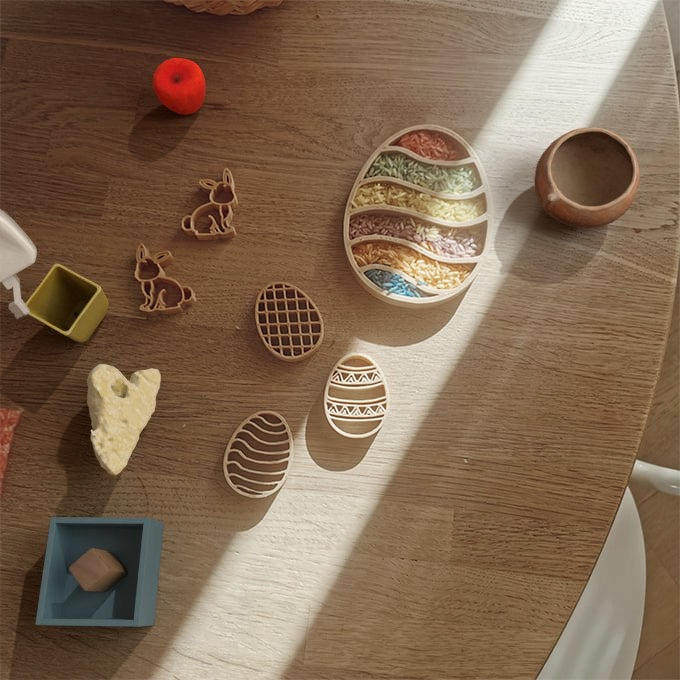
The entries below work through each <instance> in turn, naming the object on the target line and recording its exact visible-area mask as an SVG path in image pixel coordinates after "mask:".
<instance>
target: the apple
mask: <svg viewBox="0 0 680 680" xmlns="http://www.w3.org/2000/svg"><path fill="white" fill-rule="evenodd" d="M206 85H207V84H206V79H205V76H204V72H203V70H202V69H201V68H200V65H198V64H197V63H196V62H195V61H193V60H190V59H188V58H182V57H181V58H180V57H171V58H169V59H165V60H164V61H163V62H161V64H159V65H158V66H157V68H156V69H155V72H154V73H153V75H152V87H153V90H154V93H155V95H156V97H157V98H158V100H159V102H160V103H161V104H162V105H163V106H164V107H166V108H167V109H168V110H170V111H172V112H174V113H176V114H178V115H181V116H182V115H184V116H187V115H192V114H195V113H197V112H198V111H199V110H200V109H201V107H202V105H204V103H205V98H206Z"/></svg>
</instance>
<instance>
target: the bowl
mask: <svg viewBox="0 0 680 680" xmlns="http://www.w3.org/2000/svg"><path fill="white" fill-rule="evenodd" d="M640 176H641V175H640V166H639V161H638V159H637V156H636V154H635V152H634V150H633V149H632V147H631V145H629V144H628V143H627V141H626V140H625V139H624V138H622V137H621V136H620V135H618V134H616V133H615V132H612V131H610V130H608V129H606V128H603V127H596V126H595V127H594V126H588V127H587V126H586V127H579V128H575V129H571V130H570V131H568V132H565V133H564V134H562V135H560V136H559V137H557V138H556V139H555V140H553V141H552V142H551V143H550V144H549V145H548V147H547V148H546V149H545V150H544V151H543V153H542V154H541V155H540V157H539V159H538V161H537V164H536V167H535V172H534V190H535V194H536V197H537V200H538V202H539V204H540V206H541V207H542V209H543V211H544V212H545V213H546V214H547V215H549V216H550V217H551V218H553V219H555V221H557V222H560V223H561V224H564V225H566V226H570V227H573V228H578V229H579V228H580V229H593V228H599V227H604V226H607V225H609V224H612V223H614V222H616V221H617V220H618V219H620V218H621V217H622V216H624V215H625V214H626V212H628V210H629V209H630V208H631V206H632V204H633V202H634V201H635V198H636V196H637V195H638V194H637V193H638V190H639V186H640Z"/></svg>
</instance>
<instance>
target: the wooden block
mask: <svg viewBox="0 0 680 680" xmlns="http://www.w3.org/2000/svg"><path fill="white" fill-rule="evenodd" d="M69 570H70V572H71V573H72V574H73V576H74V577H75V579H76V580H77V581H78V583H79V584H80V585H81V587H82V588H83V589H84V590H85V591H96V592H107V591H109V590H110V589H111V588H112V587H113V586H114V585H115V584H117V583H118V582H119V581H120V580H121V579H122V578H123V577H124V576H126V575H127V573H128V572H127V570H126V568H125V567H124V566H123V564H122V563H121V562H120V561H119V559H118V558H117V557H116V555H115V554H114V553H113V552H110V551H105V550H100V549H96V548H91V549H89V550H88V551H87V552H86V553H85V554H84V555H83V556H81V557H80V558H79V559H78V560H77V561H76V562H75V563H73V564H72V565H71V566H70V568H69Z"/></svg>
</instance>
